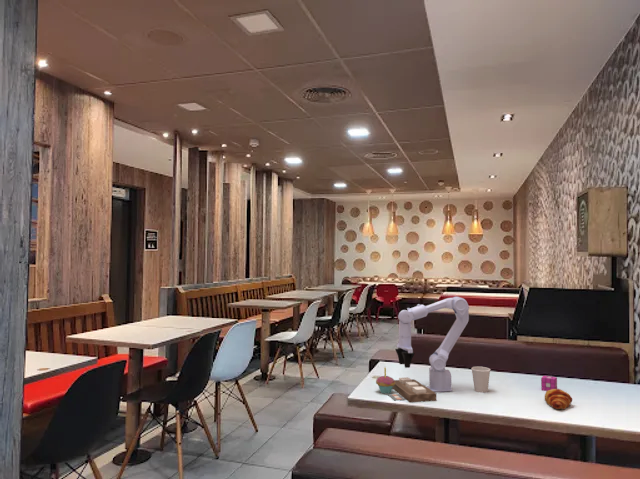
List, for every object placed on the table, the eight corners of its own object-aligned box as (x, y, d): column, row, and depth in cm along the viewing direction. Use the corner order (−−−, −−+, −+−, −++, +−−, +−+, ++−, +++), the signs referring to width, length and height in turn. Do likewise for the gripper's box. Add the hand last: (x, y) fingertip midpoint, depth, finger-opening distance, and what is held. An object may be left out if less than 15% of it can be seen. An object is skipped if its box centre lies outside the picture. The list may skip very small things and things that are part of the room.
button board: (414, 385, 217) (414, 379, 217) (436, 400, 193) (436, 393, 193) (390, 386, 214) (390, 380, 215) (409, 402, 191) (409, 394, 191)
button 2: (421, 393, 199) (421, 386, 199) (426, 396, 194) (426, 389, 194) (412, 393, 198) (412, 386, 198) (416, 396, 194) (416, 389, 194)
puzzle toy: (541, 390, 210) (541, 377, 211) (543, 387, 215) (543, 375, 215) (555, 392, 207) (554, 379, 207) (557, 389, 212) (557, 377, 212)
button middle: (414, 388, 206) (414, 381, 207) (418, 391, 202) (418, 384, 202) (405, 388, 206) (405, 382, 206) (409, 391, 201) (409, 384, 202)
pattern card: (399, 394, 202) (399, 393, 202) (405, 400, 194) (405, 399, 194) (388, 395, 201) (388, 394, 201) (394, 400, 193) (394, 399, 193)
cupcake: (394, 395, 201) (394, 367, 201) (375, 394, 202) (375, 366, 203) (395, 390, 209) (395, 363, 210) (376, 389, 211) (376, 362, 211)
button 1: (408, 383, 214) (408, 377, 214) (411, 386, 210) (411, 379, 210) (399, 384, 214) (399, 377, 214) (402, 386, 209) (402, 380, 209)
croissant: (549, 405, 200) (540, 387, 202) (572, 396, 197) (562, 379, 199) (551, 418, 181) (540, 399, 183) (576, 409, 177) (565, 390, 179)
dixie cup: (480, 394, 204) (479, 371, 204) (467, 389, 211) (467, 367, 212) (495, 392, 207) (494, 369, 207) (481, 387, 214) (481, 365, 215)
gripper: (391, 333, 219) (391, 362, 219) (402, 338, 205) (402, 369, 204) (405, 333, 221) (404, 362, 220) (417, 338, 206) (416, 369, 206)
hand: (404, 365), depth 212 cm, fingers open, 6 cm apart
